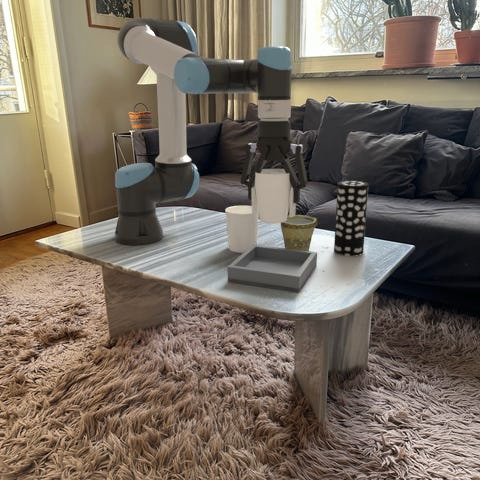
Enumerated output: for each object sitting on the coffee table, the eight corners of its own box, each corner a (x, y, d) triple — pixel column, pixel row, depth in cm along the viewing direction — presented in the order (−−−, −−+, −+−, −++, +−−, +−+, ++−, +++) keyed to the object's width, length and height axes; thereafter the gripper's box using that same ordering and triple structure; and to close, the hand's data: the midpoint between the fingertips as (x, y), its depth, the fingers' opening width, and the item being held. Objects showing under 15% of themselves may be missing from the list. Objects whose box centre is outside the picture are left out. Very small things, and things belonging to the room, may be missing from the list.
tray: (227, 281, 112) (227, 266, 111) (253, 258, 128) (253, 244, 126) (299, 292, 105) (299, 276, 104) (316, 266, 121) (317, 252, 120)
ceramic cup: (297, 261, 125) (298, 226, 122) (272, 252, 132) (272, 218, 129) (328, 251, 133) (330, 218, 130) (303, 243, 140) (304, 211, 137)
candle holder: (223, 253, 132) (222, 213, 128) (229, 242, 141) (228, 205, 138) (257, 254, 131) (257, 214, 127) (260, 243, 140) (260, 205, 136)
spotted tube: (335, 245, 137) (339, 180, 131) (364, 248, 135) (369, 181, 129) (332, 254, 130) (336, 185, 124) (362, 257, 127) (367, 186, 121)
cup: (293, 225, 108) (294, 174, 104) (254, 225, 108) (254, 174, 104) (290, 215, 116) (291, 168, 113) (254, 215, 116) (254, 168, 113)
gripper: (224, 120, 105) (226, 214, 112) (316, 120, 98) (313, 222, 104) (237, 118, 112) (238, 207, 119) (324, 119, 104) (320, 214, 111)
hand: (273, 214), depth 112 cm, fingers closed on cup, 9 cm apart
